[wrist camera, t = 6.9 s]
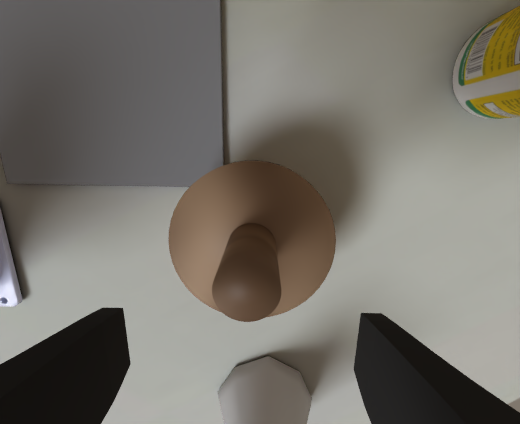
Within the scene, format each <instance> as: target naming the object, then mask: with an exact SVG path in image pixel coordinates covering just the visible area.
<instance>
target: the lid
mask: <svg viewBox="0 0 520 424" xmlns="http://www.w3.org/2000/svg"><path fill="white" fill-rule="evenodd" d="M335 244H336V237H335V228H334V223H333V219H332V217H331V214H330V211H329V209H328V207H327V205H326V203H325V202H324V200H323V199H322V197H321V196H320V194H319V193H318V192H317V191H316V190H315V189H314V188H313V187H312V186H311V184H310V183H308V182H307V181H306V180H305V179H303V178H302V177H301V176H300V175H298V174H297V173H295V172H293V171H291V170H290V169H288V168H285V167H283V166H280V165H277V164H274V163H270V162H264V161H240V162H234V163H230V164H227V165H223V166H221V167H219V168H216V169H214V170H212V171H210V172H209V173H207V174H205V175H204V176H202V177H201V178H199V179H198V180H197V181H196V182H195V183H193V184H192V185H191V186H190V188H189V189H188V190H187V191H186V192H185V193H184V195H183V196H182V198H181V199H180V200H179V202H178V204H177V206H176V208H175V210H174V213H173V216H172V219H171V223H170V229H169V249H170V254H171V259H172V262H173V265H174V267H175V270H176V272H177V274H178V275H179V277H180V279H181V281H182V282H183V283H184V285H185V286H186V287H187V288H188V290H189V291H190V292H191V293H192V294H193V295H194V296H195V297H197V298H198V299H199V300H200V301H202V302H203V303H205V304H206V305H208V306H209V307H211V308H213V309H215V310H217V311H220V312H222V313H224V314H225V315H226V316H228V317H230V318H232V319H235V320H238V321H244V322H251V321H257V320H260V319H263V318H265V317H270V316H274V315H278V314H281V313H284V312H287V311H289V310H291V309H293V308H295V307H297V306H298V305H300V304H301V303H303V302H305V301H306V300H307V299H308V298H309V297H310V296H312V295H313V294H314V293H315V291H316V290H317V289H318V288H319V287H320V286H321V284H322V283H323V281H324V280H325V278H326V276H327V274H328V272H329V270H330V268H331V265H332V262H333V258H334V254H335Z"/></svg>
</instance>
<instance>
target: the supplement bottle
mask: <svg viewBox="0 0 520 424" xmlns="http://www.w3.org/2000/svg"><path fill="white" fill-rule="evenodd" d="M452 80H453V89H454V93H455V96H456V98H457V100H458V102H459V103H460V105H461V106H462V107H463V108H464V109H465V110H467V111H468V112H470V113H471V114H473V115H476V116H478V117H481V118H486V119H500V118H511V117H520V6H519V7H517V8H515V9H513V10H511V11H509V12H507V13H505V14H503V15H501V16H500V17H498V18H496V19H494V20H492V21H490V22H489V23H487V24H485V25H484V26H483V27H481V28H480V29H479V30H477V31H476V32H475V33H474V34H473V35H472V36H471V37H470V38H469V40H468V41H467V42H466V43H465V45H464V46H463V48H462V49H461V51H460V53H459V55H458V57H457V59H456V62H455V65H454V70H453V79H452Z"/></svg>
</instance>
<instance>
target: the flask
mask: <svg viewBox="0 0 520 424" xmlns="http://www.w3.org/2000/svg"><path fill="white" fill-rule="evenodd" d="M218 397H219V402H220V407H221V411H222V416H223V420H224V424H307V420H308V415H309V411H310V406H311V400H312V397H311V395H310V393H309V391H308V389H307V387H306V385H305V382H304V380H303V378H302V376H301V374H300V372H299V371H297V370H295V369H293V368H291V367H289V366H287V365H285V364H283V363H281V362H279V361H277V360H275V359H273V358H271V357H269V356H267V357H264V358H261V359H258V360H255V361H252V362H249V363H246V364H243V365H240V366H237V367H235V368H234V369H233V370H232V372H231V373H230V375H229V376H228V378H227V379H226V381H225V382H224V383H223V385H222V386H221V388H220V389H219V391H218Z"/></svg>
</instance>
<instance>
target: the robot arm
mask: <svg viewBox="0 0 520 424" xmlns="http://www.w3.org/2000/svg"><path fill="white" fill-rule="evenodd" d="M21 302H22V296H21V291H20V287H19V283H18V279H17V275H16V271H15V267H14V263H13V258H12V254H11V250H10V246H9V242H8V238H7V234H6V230H5V225H4V221H3V217H2V213H1V209H0V306H16V305H18V304H19V303H21ZM129 366H130V357H129V349H128V342H127V334H126V327H125V319H124V312H123V308H101V309H99V310H97V311H95V312H93V313H91V314H89V315H88V316H86V317H84V318H82V319H80V320H78V321H77V322H75V323H73V324H71V325H70V326H68V327H66V328H64V329H63V330H61V331H59V332H57V333H56V334H54V335H52V336H50V337H49V338H47V339H45V340H43V341H41V342H40V343H38V344H36V345H34V346H33V347H31V348H29V349H27V350H26V351H24V352H22V353H20V354H19V355H17V356H15V357H13V358H11V359H10V360H8V361H6V362H4V363H2V364H0V424H101V423H102V421H103V419H104V418H105V416H106V414H107V412H108V411H109V409H110V407H111V405H112V403H113V402H114V400H115V397H116V395H117V393H118V391H119V389H120V387H121V385H122V382H123V380H124V378H125V375H126V373H127V371H128V368H129ZM354 371H355V375H356V378H357V382H358V386H359V389H360V392H361V396H362V399H363V402H364V406H365V408H366V411H367V413H368V416H369V419H370V421H371V423H372V424H520V413H519V412H518V411H516V410H515V409H513V408H512V407H510V406H509V405H507V404H506V403H504V402H503V401H501V400H500V399H499V398H497V397H496V396H494V395H493V394H491V393H490V392H488V391H487V390H485V389H484V388H482V387H481V386H480V385H478V384H477V383H475V382H474V381H473V380H471V379H470V378H468V377H467V376H465V375H464V374H463V373H461V372H460V371H459V370H457V369H456V368H454V367H453V366H452V365H450V364H449V363H448V362H446V361H445V360H444V359H442V358H441V357H439V356H438V355H437V354H435V353H434V352H433V351H431V350H430V349H429V348H427V347H426V346H425V345H423V344H422V343H421V342H420V341H418V340H417V339H416V338H414V337H413V336H412V335H410V334H409V333H408V332H406V331H405V330H404V329H402V328H401V327H400V326H398V325H397V324H396V323H394V322H393V321H392V320H390V319H389V318H387V317H386V316H384V315H383V314H381V313H361V317H360V325H359V333H358V340H357V348H356V356H355V363H354Z"/></svg>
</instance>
